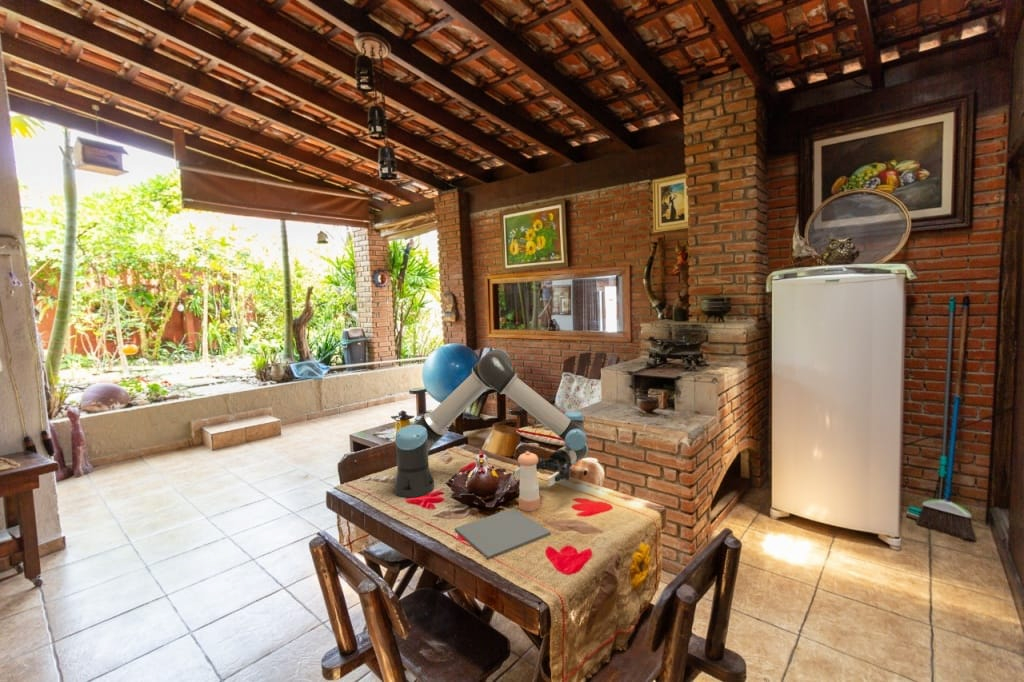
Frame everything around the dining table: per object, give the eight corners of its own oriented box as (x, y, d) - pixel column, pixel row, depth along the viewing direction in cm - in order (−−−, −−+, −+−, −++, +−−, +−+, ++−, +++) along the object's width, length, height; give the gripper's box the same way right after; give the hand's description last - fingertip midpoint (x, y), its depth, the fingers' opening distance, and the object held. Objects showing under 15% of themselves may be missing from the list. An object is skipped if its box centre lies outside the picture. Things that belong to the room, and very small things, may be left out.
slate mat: (454, 530, 143) (454, 527, 142) (513, 510, 155) (513, 507, 155) (488, 559, 126) (487, 556, 126) (550, 534, 138) (550, 531, 138)
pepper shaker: (540, 510, 153) (539, 455, 152) (519, 511, 154) (517, 455, 152) (539, 501, 161) (538, 448, 159) (519, 501, 161) (517, 448, 159)
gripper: (592, 475, 167) (564, 496, 150) (535, 462, 181) (502, 481, 164) (592, 455, 166) (563, 474, 149) (534, 444, 181) (502, 460, 164)
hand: (531, 478), depth 157 cm, fingers open, 13 cm apart
